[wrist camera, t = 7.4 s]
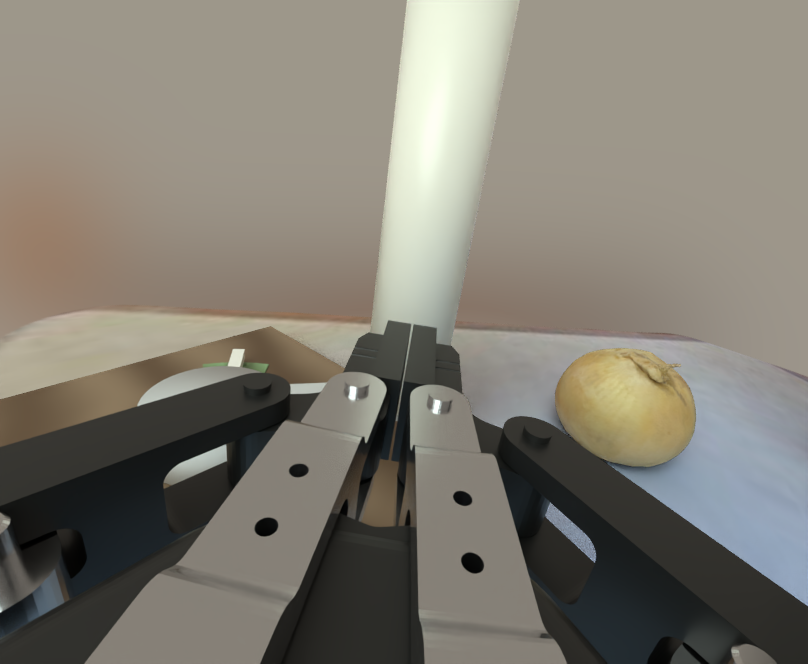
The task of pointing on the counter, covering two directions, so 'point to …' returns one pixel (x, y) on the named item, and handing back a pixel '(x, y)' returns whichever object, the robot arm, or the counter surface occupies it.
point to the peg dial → (417, 181)
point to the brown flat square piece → (131, 382)
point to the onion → (626, 406)
